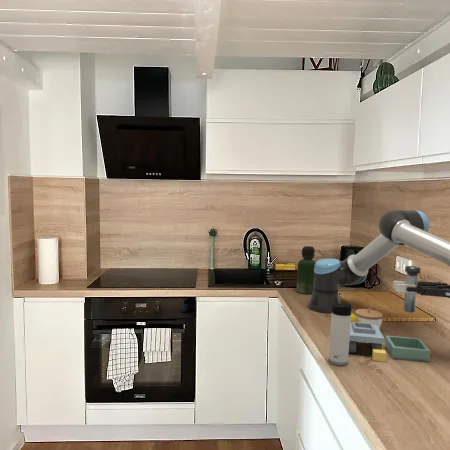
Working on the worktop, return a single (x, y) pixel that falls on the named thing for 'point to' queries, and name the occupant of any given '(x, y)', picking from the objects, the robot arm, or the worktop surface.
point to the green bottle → (306, 271)
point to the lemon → (353, 318)
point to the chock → (379, 355)
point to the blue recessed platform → (365, 335)
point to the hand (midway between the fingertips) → (394, 286)
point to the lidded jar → (369, 316)
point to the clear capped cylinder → (411, 280)
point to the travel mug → (340, 334)
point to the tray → (407, 348)
